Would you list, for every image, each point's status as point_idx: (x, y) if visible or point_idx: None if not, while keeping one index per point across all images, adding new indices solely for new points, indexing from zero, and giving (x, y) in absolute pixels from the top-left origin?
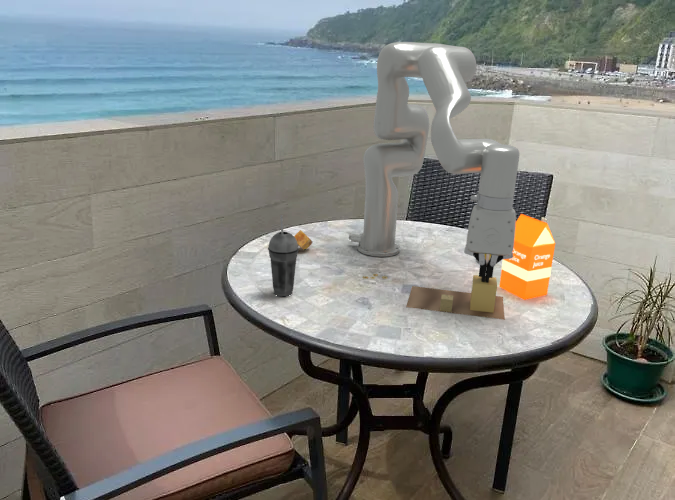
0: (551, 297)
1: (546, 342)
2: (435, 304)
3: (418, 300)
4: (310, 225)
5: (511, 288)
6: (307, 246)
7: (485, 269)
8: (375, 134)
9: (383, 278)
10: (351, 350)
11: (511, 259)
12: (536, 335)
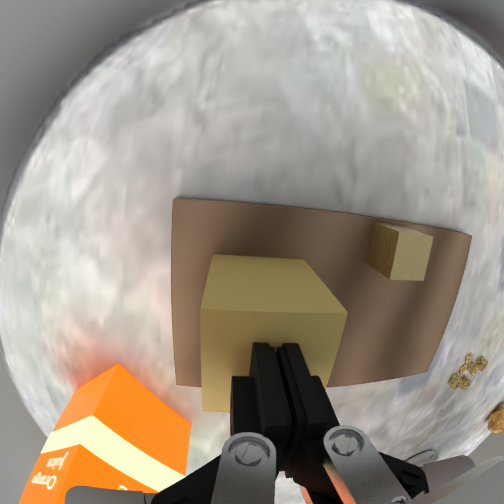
0: (69, 397)
1: (70, 107)
2: None
3: (441, 289)
4: None
5: (152, 418)
6: (492, 418)
7: (300, 403)
8: None
9: (460, 379)
10: (501, 59)
11: None
12: (85, 144)
